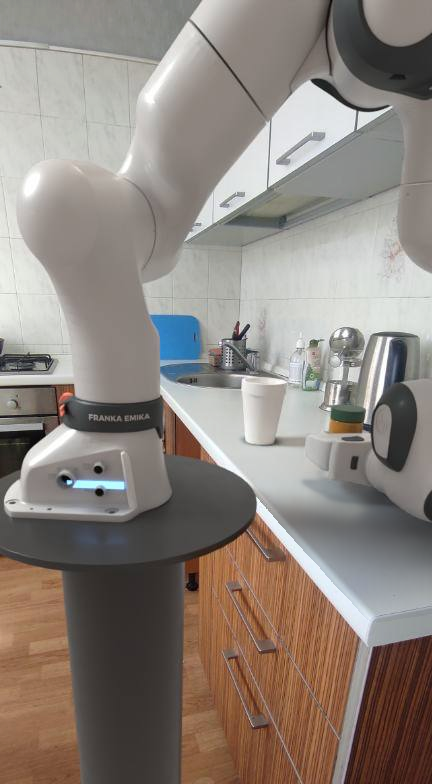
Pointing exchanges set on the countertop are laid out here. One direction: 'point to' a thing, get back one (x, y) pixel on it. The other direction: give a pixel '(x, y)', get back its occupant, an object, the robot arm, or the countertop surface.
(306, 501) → the countertop surface
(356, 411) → the lid
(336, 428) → the jar
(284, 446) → the countertop surface
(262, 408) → the foam cup
